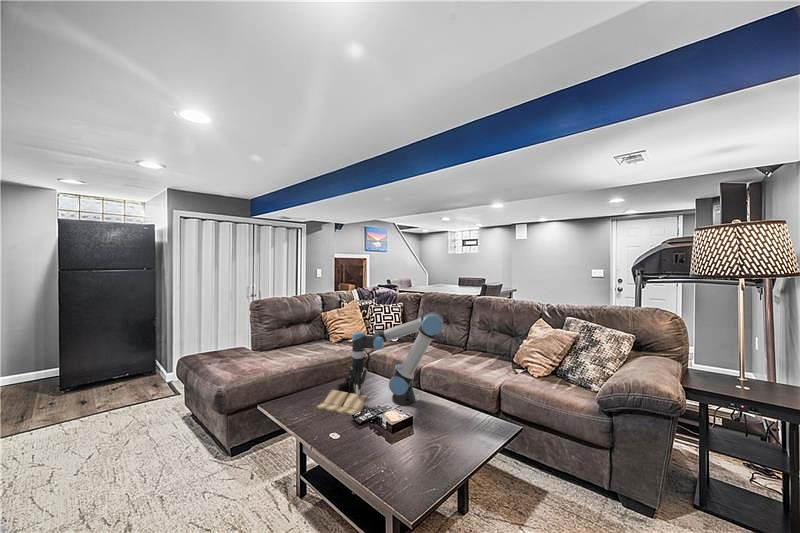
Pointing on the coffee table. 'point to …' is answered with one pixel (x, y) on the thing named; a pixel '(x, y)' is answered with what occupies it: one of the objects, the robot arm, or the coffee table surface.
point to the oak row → (338, 409)
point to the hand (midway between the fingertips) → (357, 394)
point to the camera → (346, 385)
